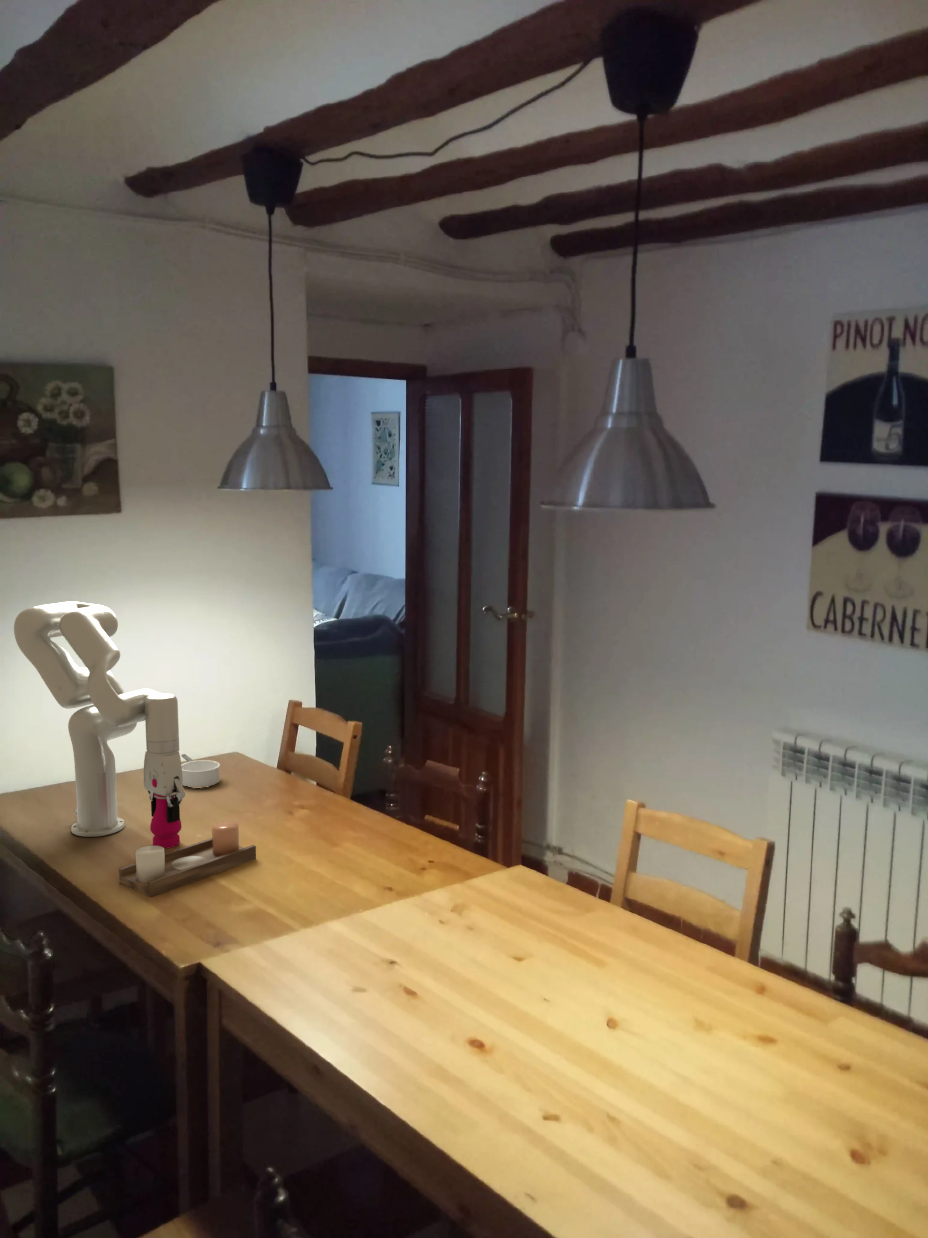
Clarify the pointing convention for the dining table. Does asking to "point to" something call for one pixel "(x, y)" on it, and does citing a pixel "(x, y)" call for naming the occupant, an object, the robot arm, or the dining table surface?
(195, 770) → the saucepan
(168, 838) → the pepper mill
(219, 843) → the pink pillar candle
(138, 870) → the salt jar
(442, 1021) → the dining table surface
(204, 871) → the rail
